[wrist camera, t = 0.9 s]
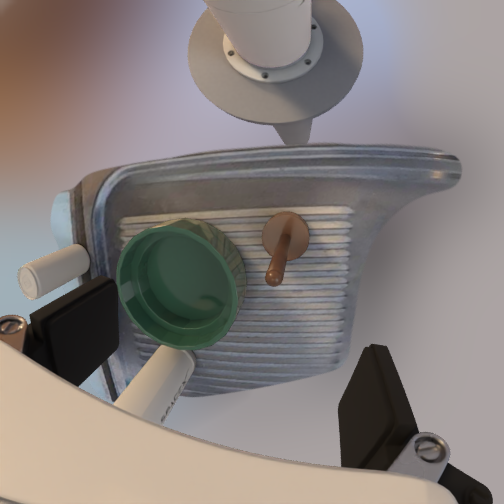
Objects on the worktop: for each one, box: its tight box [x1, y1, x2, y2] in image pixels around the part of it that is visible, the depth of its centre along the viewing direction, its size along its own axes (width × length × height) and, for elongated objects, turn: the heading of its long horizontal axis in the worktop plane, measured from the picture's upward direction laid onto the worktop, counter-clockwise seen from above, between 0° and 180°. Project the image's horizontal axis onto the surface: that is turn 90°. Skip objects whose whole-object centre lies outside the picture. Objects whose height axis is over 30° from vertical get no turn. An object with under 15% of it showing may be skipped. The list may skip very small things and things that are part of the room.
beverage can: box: [18, 244, 90, 300], centre depth 35 cm, size 5×5×12 cm
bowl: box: [117, 218, 247, 350], centre depth 35 cm, size 15×15×6 cm
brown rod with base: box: [262, 212, 309, 287], centre depth 27 cm, size 5×5×16 cm
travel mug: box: [113, 345, 196, 426], centre depth 33 cm, size 6×7×20 cm
